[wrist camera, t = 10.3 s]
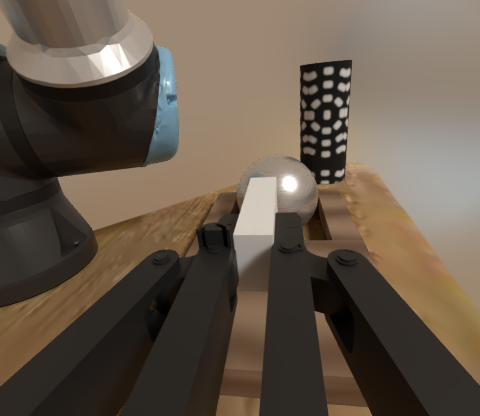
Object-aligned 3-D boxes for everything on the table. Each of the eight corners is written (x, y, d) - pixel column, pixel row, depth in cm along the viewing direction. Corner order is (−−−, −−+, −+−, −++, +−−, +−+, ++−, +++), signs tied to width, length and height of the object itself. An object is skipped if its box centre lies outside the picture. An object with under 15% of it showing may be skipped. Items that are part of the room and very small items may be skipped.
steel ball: (216, 162, 36) (227, 236, 38) (267, 159, 27) (277, 255, 30) (275, 152, 41) (282, 218, 43) (333, 147, 33) (337, 229, 35)
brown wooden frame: (426, 411, 16) (434, 382, 15) (136, 387, 19) (126, 362, 18) (336, 203, 43) (337, 188, 42) (222, 207, 46) (220, 192, 45)
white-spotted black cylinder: (348, 183, 51) (357, 58, 43) (301, 185, 52) (301, 64, 44) (340, 170, 58) (346, 61, 50) (299, 171, 60) (298, 66, 52)
